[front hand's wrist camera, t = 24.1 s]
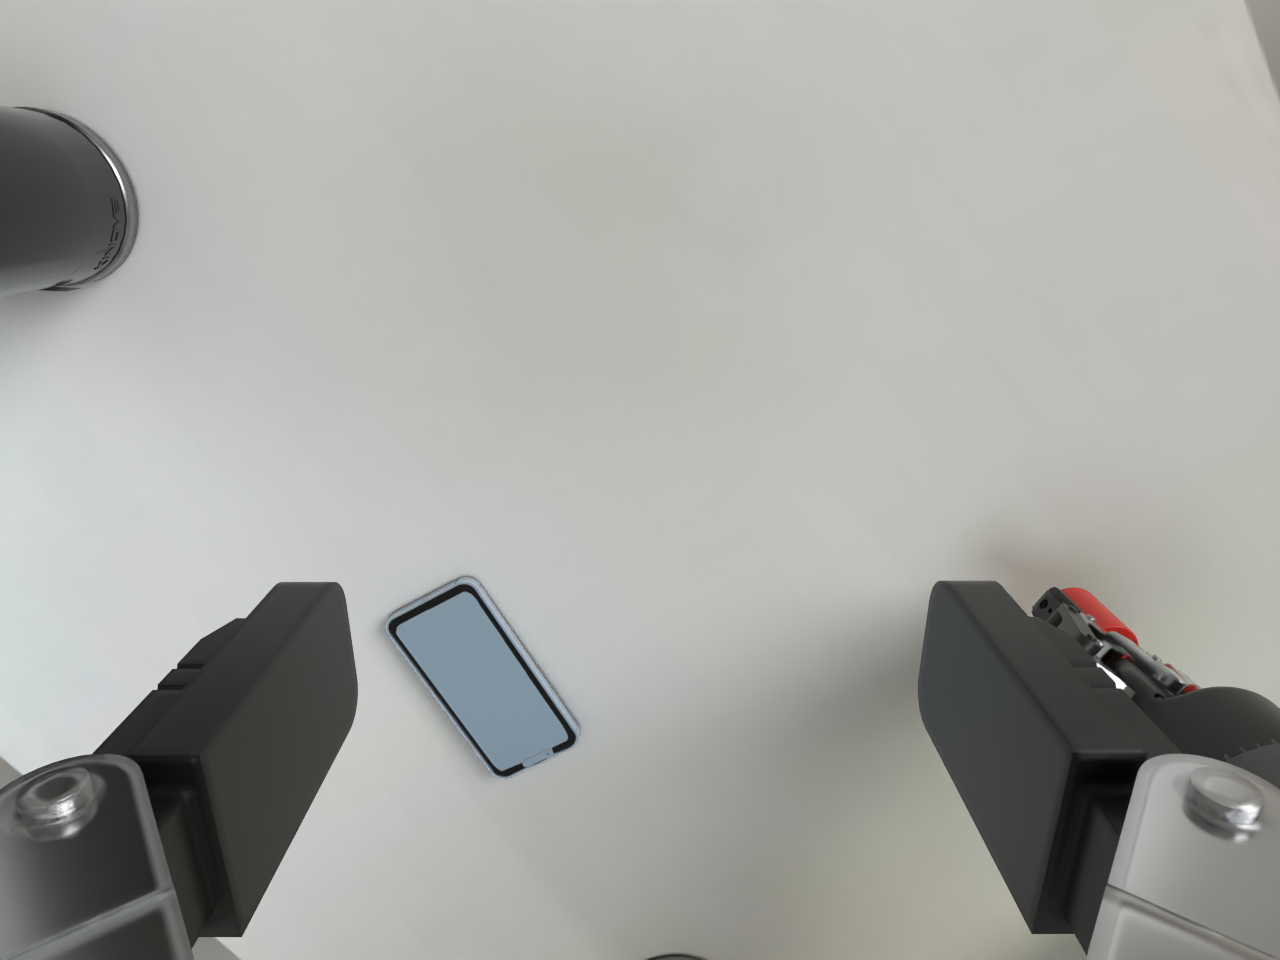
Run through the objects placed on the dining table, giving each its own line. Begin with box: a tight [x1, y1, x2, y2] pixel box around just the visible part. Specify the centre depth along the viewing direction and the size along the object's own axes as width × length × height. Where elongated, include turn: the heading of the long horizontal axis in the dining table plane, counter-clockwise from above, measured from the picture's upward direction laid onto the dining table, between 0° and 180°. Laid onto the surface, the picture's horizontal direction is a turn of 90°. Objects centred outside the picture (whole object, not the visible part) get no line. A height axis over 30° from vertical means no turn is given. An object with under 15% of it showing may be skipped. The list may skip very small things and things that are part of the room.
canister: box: [1061, 588, 1139, 658], centre depth 49 cm, size 4×4×5 cm
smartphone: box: [385, 577, 580, 779], centre depth 57 cm, size 7×1×15 cm
